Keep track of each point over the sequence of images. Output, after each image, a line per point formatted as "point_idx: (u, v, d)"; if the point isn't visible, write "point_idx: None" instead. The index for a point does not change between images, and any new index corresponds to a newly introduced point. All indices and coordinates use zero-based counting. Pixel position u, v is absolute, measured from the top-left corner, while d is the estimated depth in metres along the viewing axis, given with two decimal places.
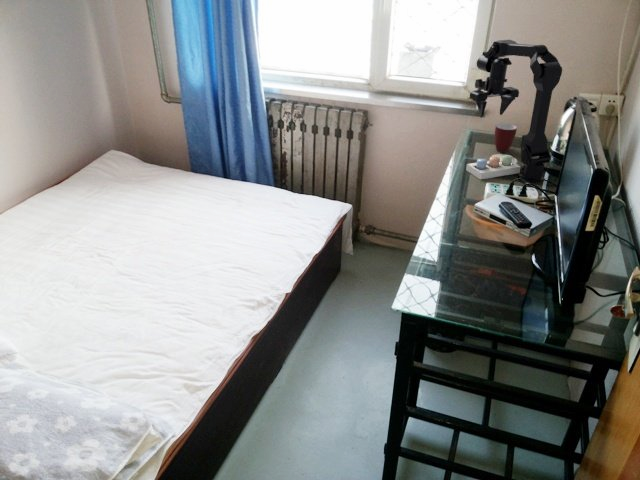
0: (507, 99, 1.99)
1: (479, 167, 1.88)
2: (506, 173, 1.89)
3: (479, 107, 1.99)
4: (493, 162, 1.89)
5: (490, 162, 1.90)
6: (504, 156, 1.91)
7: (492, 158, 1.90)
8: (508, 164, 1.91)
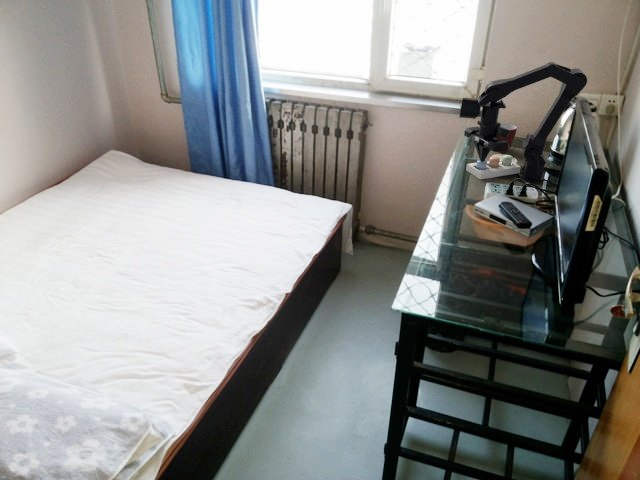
0: None
1: (479, 168, 1.88)
2: (506, 173, 1.89)
3: None
4: (493, 162, 1.89)
5: (490, 162, 1.90)
6: (504, 156, 1.91)
7: (492, 158, 1.90)
8: (508, 164, 1.91)
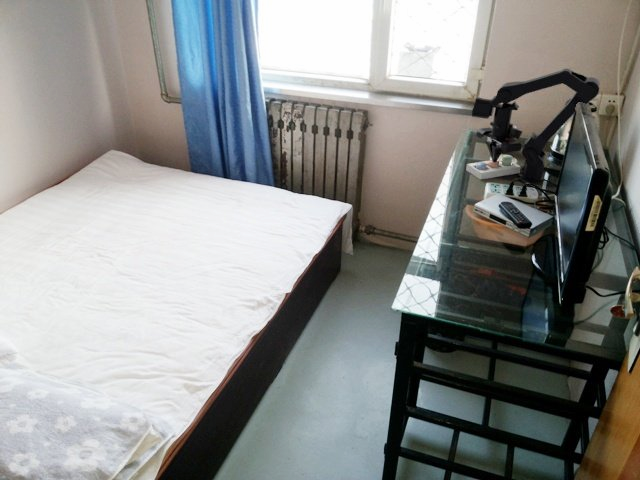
0: None
1: None
2: (506, 173, 1.89)
3: None
4: (492, 166, 1.89)
5: (489, 165, 1.90)
6: (504, 156, 1.91)
7: (491, 161, 1.90)
8: (508, 164, 1.91)
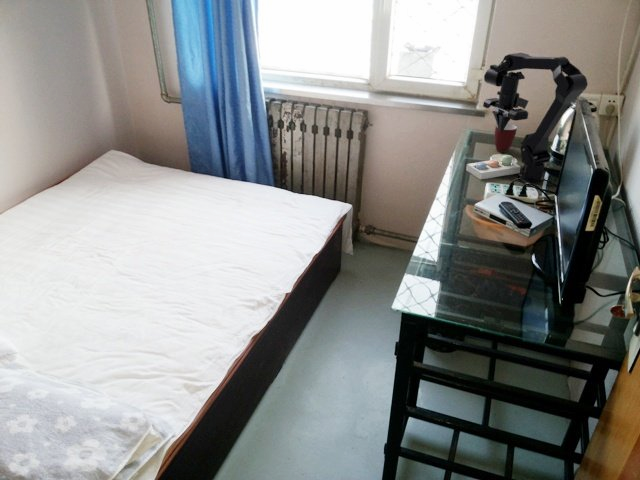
0: None
1: None
2: (506, 173, 1.89)
3: None
4: (492, 166, 1.90)
5: (489, 166, 1.90)
6: (504, 156, 1.91)
7: (491, 162, 1.90)
8: (508, 164, 1.91)
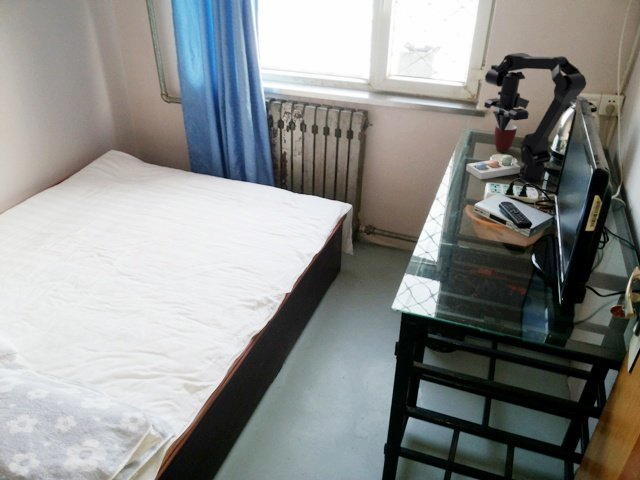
0: None
1: None
2: (506, 173, 1.89)
3: None
4: (492, 166, 1.90)
5: (489, 166, 1.90)
6: (504, 156, 1.91)
7: (491, 162, 1.90)
8: (508, 164, 1.91)
